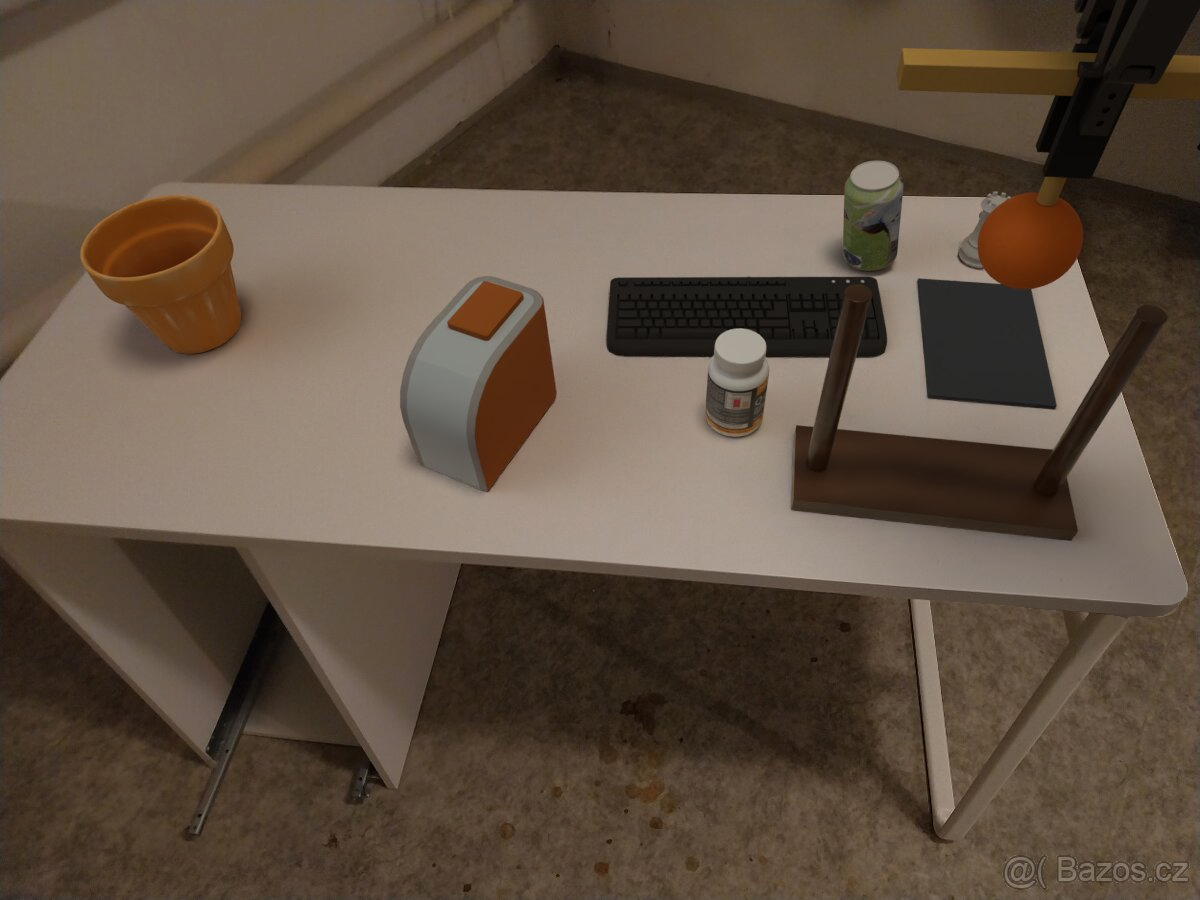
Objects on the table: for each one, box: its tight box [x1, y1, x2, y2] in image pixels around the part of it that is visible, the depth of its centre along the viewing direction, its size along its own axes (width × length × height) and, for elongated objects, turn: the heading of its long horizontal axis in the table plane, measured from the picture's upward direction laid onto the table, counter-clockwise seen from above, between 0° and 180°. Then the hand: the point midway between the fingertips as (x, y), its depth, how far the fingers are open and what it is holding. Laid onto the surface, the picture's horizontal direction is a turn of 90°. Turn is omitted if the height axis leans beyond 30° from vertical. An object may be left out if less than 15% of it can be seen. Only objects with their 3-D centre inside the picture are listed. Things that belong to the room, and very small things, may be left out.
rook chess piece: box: [958, 191, 1012, 269], centre depth 93 cm, size 4×4×8 cm
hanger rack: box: [790, 284, 1169, 542], centre depth 68 cm, size 9×24×22 cm, turn 80°
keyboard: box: [606, 276, 888, 358], centre depth 91 cm, size 30×11×2 cm, turn 87°
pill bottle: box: [705, 328, 770, 438], centre depth 79 cm, size 6×6×10 cm
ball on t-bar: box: [896, 47, 1200, 290], centre depth 53 cm, size 6×22×16 cm, turn 80°
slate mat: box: [916, 277, 1058, 410], centre depth 88 cm, size 18×12×1 cm, turn 170°
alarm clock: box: [399, 275, 558, 493], centre depth 79 cm, size 15×8×14 cm, turn 152°
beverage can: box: [842, 159, 905, 272], centre depth 92 cm, size 6×7×12 cm
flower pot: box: [79, 194, 242, 355], centre depth 91 cm, size 14×14×13 cm
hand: (1062, 161), depth 52 cm, fingers closed on ball on t-bar, 2 cm apart
